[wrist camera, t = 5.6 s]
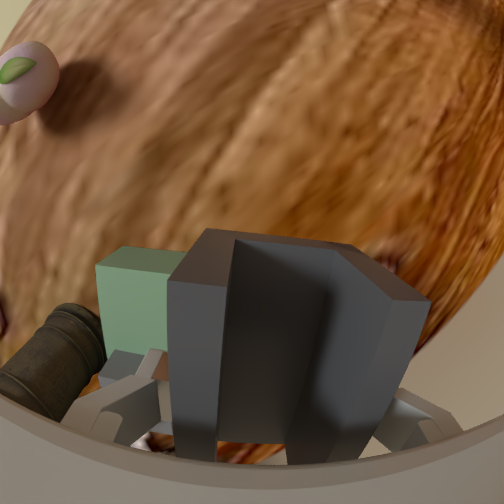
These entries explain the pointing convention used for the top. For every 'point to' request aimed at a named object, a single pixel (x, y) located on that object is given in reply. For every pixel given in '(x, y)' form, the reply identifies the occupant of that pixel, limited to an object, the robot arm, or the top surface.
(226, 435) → the chute
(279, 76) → the top surface
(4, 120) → the decorative fruit
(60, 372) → the container
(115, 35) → the top surface
